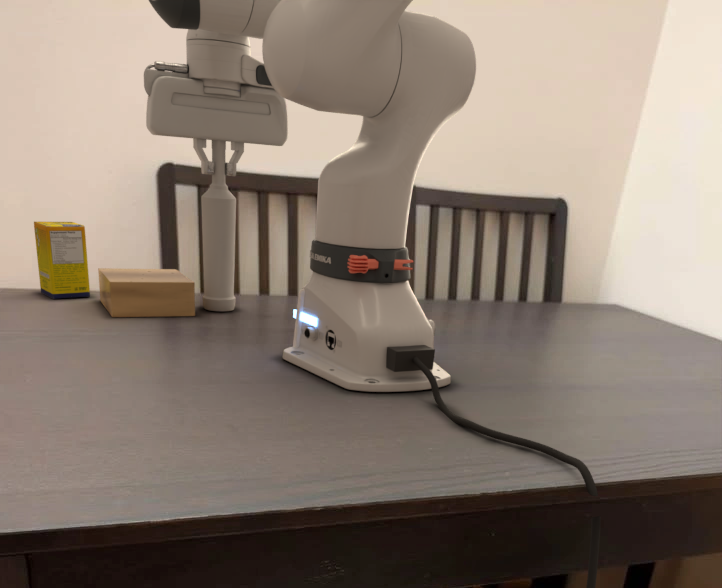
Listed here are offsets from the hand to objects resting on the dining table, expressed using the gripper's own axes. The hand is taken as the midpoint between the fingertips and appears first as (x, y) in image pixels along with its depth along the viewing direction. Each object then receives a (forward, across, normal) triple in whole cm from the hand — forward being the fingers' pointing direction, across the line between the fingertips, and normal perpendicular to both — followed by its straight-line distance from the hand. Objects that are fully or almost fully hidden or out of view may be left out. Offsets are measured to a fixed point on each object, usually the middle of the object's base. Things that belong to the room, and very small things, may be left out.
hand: (219, 175), depth 108 cm
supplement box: (+20, -22, +12) cm, 32 cm away
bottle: (+20, 0, 0) cm, 20 cm away
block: (+20, -11, +1) cm, 23 cm away
